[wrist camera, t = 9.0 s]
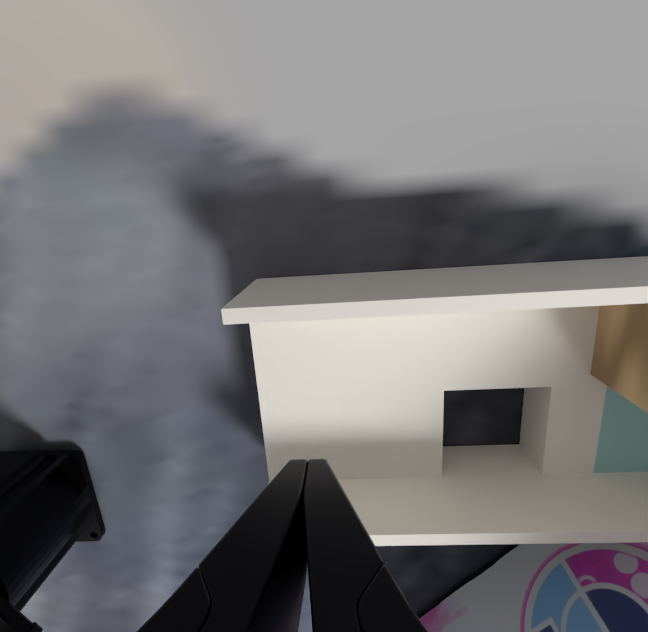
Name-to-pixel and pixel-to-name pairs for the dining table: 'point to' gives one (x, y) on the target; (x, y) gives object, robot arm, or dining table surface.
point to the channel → (446, 375)
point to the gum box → (553, 591)
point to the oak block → (623, 351)
